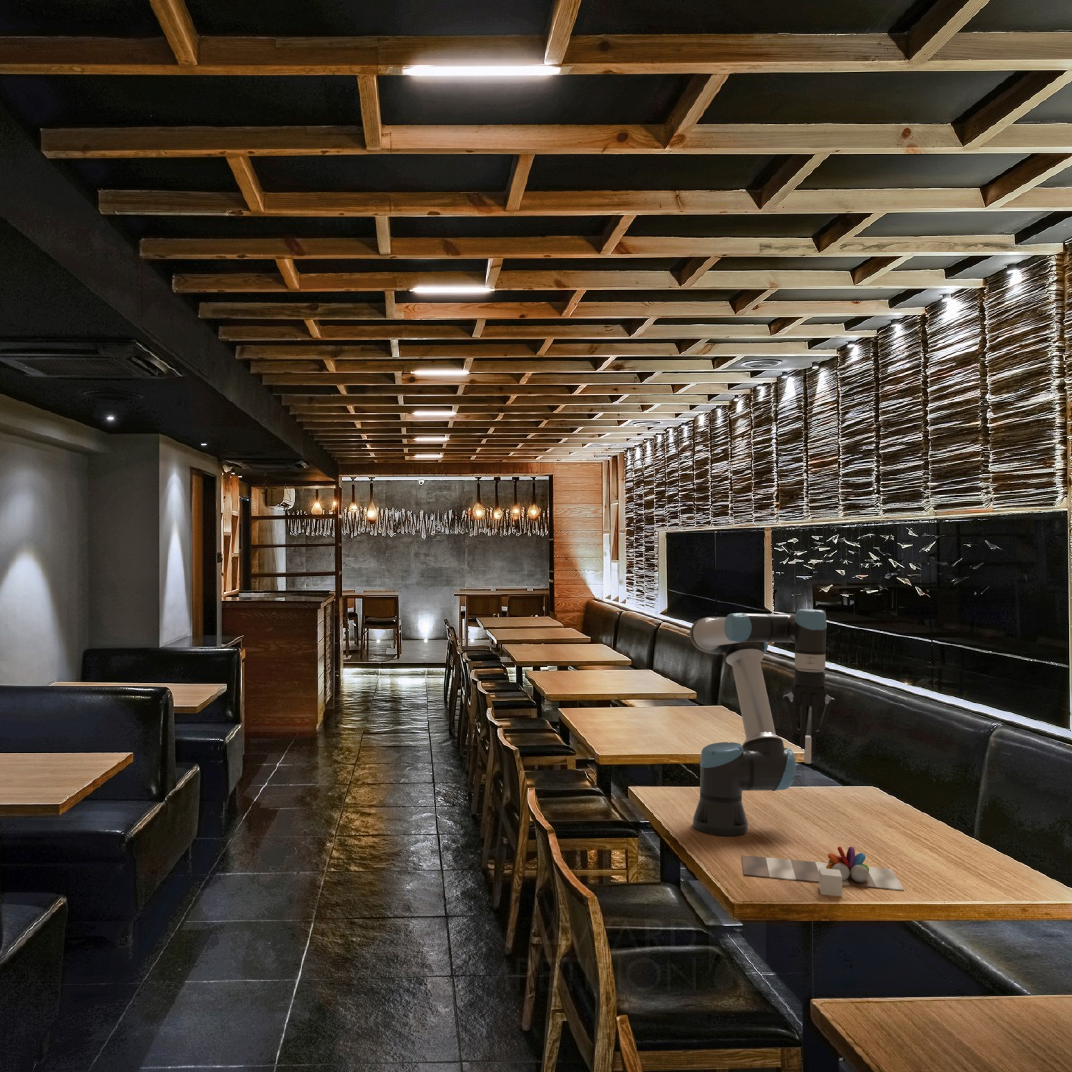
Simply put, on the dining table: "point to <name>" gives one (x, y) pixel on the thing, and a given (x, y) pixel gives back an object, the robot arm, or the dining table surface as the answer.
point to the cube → (830, 882)
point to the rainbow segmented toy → (849, 864)
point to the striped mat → (813, 872)
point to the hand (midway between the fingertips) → (807, 762)
